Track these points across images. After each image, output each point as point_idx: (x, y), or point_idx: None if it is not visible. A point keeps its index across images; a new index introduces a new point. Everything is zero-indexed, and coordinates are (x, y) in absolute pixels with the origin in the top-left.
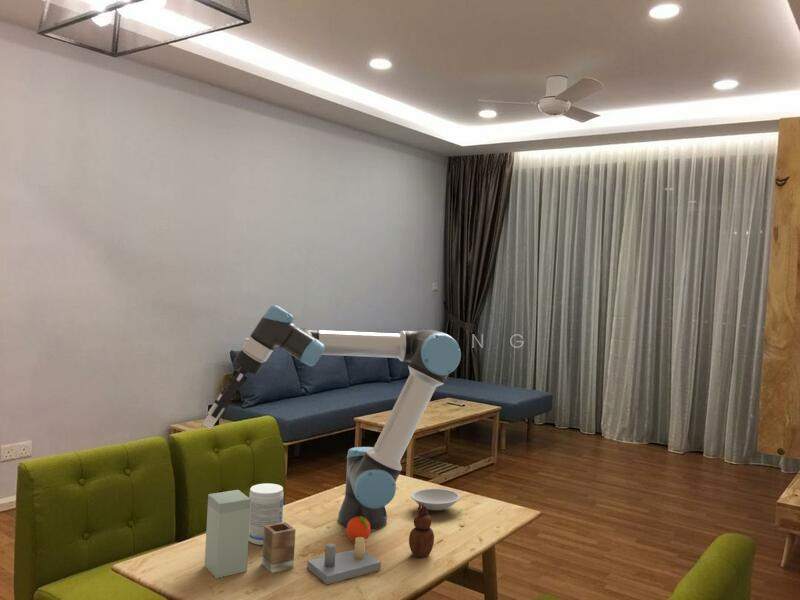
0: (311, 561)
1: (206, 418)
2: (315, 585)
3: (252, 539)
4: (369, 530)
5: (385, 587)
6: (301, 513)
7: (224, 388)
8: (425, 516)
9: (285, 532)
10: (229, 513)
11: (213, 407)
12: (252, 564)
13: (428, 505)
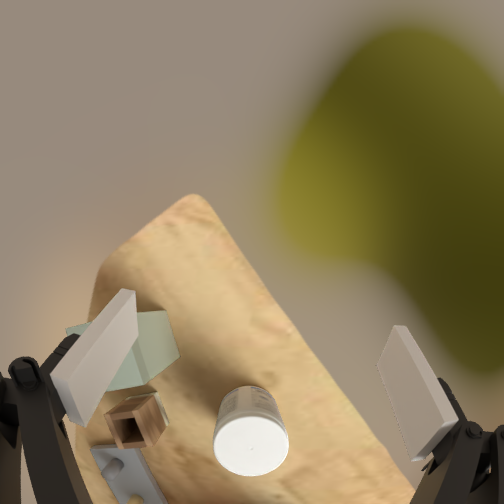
0: (129, 449)
1: (105, 309)
2: (92, 433)
3: (230, 392)
4: None
5: (87, 490)
6: (345, 467)
7: (497, 443)
8: None
9: (112, 433)
10: None
11: (66, 353)
12: (157, 378)
13: None
